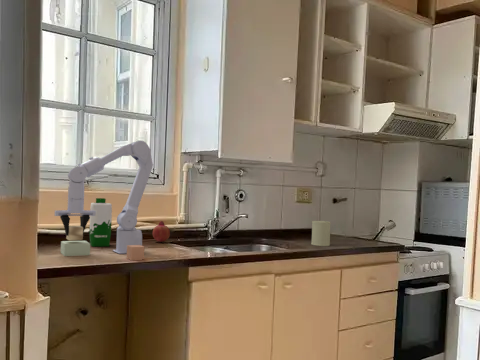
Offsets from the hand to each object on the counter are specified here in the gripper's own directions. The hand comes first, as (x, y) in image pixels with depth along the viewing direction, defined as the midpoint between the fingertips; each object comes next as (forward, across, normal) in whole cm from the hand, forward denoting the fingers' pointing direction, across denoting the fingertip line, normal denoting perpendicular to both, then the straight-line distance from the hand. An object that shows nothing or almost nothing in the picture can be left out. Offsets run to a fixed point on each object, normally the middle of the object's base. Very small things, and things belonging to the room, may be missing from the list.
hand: (74, 235), depth 173 cm
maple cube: (+2, 0, 0) cm, 2 cm away
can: (+7, -116, +10) cm, 117 cm away
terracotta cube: (+7, -17, +19) cm, 26 cm away
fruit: (+7, -44, -20) cm, 49 cm away
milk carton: (+7, -15, -18) cm, 24 cm away
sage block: (+7, 0, 0) cm, 7 cm away
